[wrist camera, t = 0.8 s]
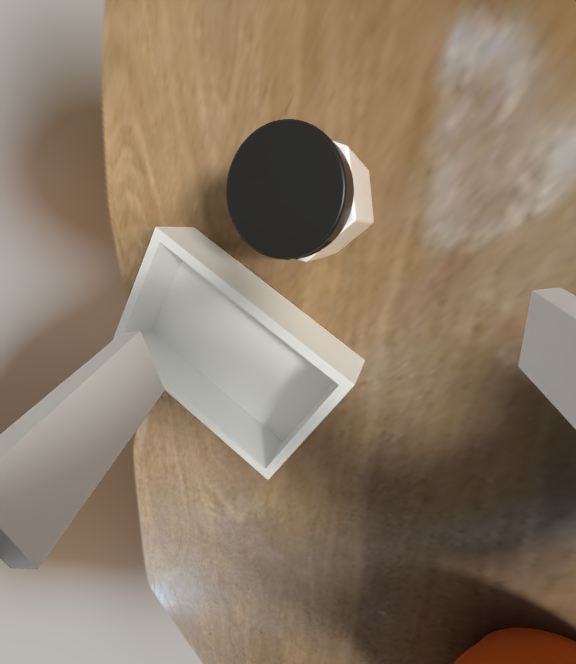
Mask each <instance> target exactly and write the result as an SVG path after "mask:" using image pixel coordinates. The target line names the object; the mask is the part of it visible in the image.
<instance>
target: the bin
mask: <svg viewBox="0 0 576 664" xmlns="http://www.w3.org/2000/svg"><path fill="white" fill-rule="evenodd" d="M133 331H141V334H142V336H143V338H144V341H145V343H146V346H147V348H148V351H149V353H150V355H151V358H152V360H153V363H154V365H155V367H156V370H157V372H158V375H159V377H160V380H161V382H162V384H163V387H164V389H165V390H166V391H167V392H168V393H169V394H170V395H171V396H173V397H174V398H175V399H176V400H177V401H178V402H179V403H181V404H182V405H183V406H184V407H185V408H186V409H187V410H189V411H190V412H191V413H192V414H193V415H194V416H195V417H197V418H198V419H199V420H200V421H201V422H202V423H203V424H205V425H206V426H207V427H208V428H209V429H210V430H211V431H213V432H214V433H215V434H216V435H217V436H218V437H219V438H221V439H222V440H223V441H224V442H225V443H226V444H227V445H229V446H230V447H231V448H232V449H233V450H234V451H235V452H237V453H238V454H239V455H240V456H241V457H242V458H243V459H245V460H246V461H247V462H248V463H249V464H250V465H251V466H253V467H254V468H255V469H256V470H257V471H258V472H259V473H261V474H262V475H263V476H264V477H265V478H266V479H267V480H269V479H270V477H271V476H272V475H273V474H274V473H275V472H276V471H277V470H278V469H279V468H280V466H281V465H282V464H283V463H284V462H285V461H286V460H287V459H288V458H289V457H290V455H291V454H292V453H293V452H294V451H295V450H296V449H297V448H298V447H299V446H300V444H301V443H302V442H303V441H304V440H305V439H306V438H307V437H308V436H309V435H310V433H311V432H312V431H313V430H314V429H315V428H316V427H317V426H318V425H319V424H320V422H321V421H322V420H323V419H324V418H325V417H326V416H327V415H328V414H329V413H330V411H331V410H332V409H333V408H334V407H335V406H336V405H337V404H338V403H339V402H340V400H341V399H342V398H343V397H344V396H345V395H346V394H347V393H348V392H349V391H350V389H351V388H352V387H353V386H354V385H355V383H356V381H357V378H358V376H359V374H360V371H361V369H362V367H363V364H364V362H365V360H364V359H363V358H361V357H360V356H359V355H358V354H356V353H355V352H354V351H352V350H351V349H350V348H349V347H347V346H346V345H345V344H343V343H342V342H341V341H340V340H338V339H337V338H336V337H335V336H333V335H332V334H331V333H329V332H328V331H327V330H326V329H324V328H323V327H322V326H320V325H319V324H318V323H317V322H315V321H314V320H313V319H311V318H310V317H309V316H308V315H306V314H305V313H304V312H302V311H301V310H300V309H299V308H297V307H296V306H295V305H293V304H292V303H291V302H290V301H288V300H287V299H286V298H284V297H283V296H282V295H281V294H279V293H278V292H277V291H275V290H274V289H273V288H272V287H270V286H269V285H268V284H266V283H265V282H264V281H263V280H261V279H260V278H259V277H257V276H256V275H255V274H254V273H252V272H251V271H250V270H248V269H247V268H246V267H245V266H243V265H242V264H241V263H239V262H238V261H237V260H236V259H234V258H233V257H232V256H230V255H229V254H228V253H227V252H225V251H224V250H223V249H221V248H220V247H219V246H218V245H216V244H215V243H214V242H212V241H211V240H210V239H209V238H207V237H206V236H205V235H203V234H202V233H201V232H200V231H198V230H197V229H196V228H194V227H156V228H155V230H154V233H153V235H152V238H151V241H150V243H149V246H148V249H147V251H146V254H145V256H144V259H143V262H142V264H141V267H140V270H139V272H138V275H137V277H136V280H135V283H134V285H133V288H132V291H131V293H130V296H129V298H128V301H127V304H126V306H125V309H124V312H123V314H122V317H121V319H120V322H119V325H118V328H117V330H116V333H115V335H114V338H113V340H114V339H115V338H116V337H117V336H119V335H120V334H121V333H123V332H133ZM113 340H112V341H113Z"/></svg>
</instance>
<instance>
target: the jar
mask: <svg viewBox="0 0 576 664" xmlns="http://www.w3.org/2000/svg"><path fill="white" fill-rule="evenodd" d="M227 204H228V209H229V213H230V216H231V219H232V222H233V224H234V226H235V228H236V230H237V231H238V233H239V234H240V236H241V237H242V238H243V240H244V241H245V242H246V243H247V244H248V245H249V246H250V247H252V248H253V249H254V250H256V251H257V252H259V253H261V254H263V255H265V256H268V257H271V258H276V259H286V260H289V259H299V260H301V261H303V262H308V261H312V260H315V259H319V258H322V257H326V256H330V255H333V254H336V253H337V252H339V251H340V250H341V249H342V248H344V247H345V246H346V245H347V244H348V243H350V242H351V241H352V240H353V239H355V238H356V237H357V236H358V235H360V234H361V233H362V232H363V231H364V230H366V229H367V228H368V227H369V226H371V225H372V224H373V222H374V219H373V209H372V198H371V187H370V176H369V170H368V169H367V168H366V166H365V165H364V164H363V163H362V162H361V161H360V160H359V158H358V157H357V156H356V155H355V154H354V153H353V152H352V150H351V149H350V148H349V147H348V146H347V145H344V144H341V143H338V142H335V141H332V140H331V139H330V138H329V137H328V136H327V135H326V134H325V133H324V132H322V131H321V130H320V129H318V128H317V127H315V126H314V125H312V124H309V123H307V122H304V121H300V120H294V119H283V120H277V121H273V122H270V123H268V124H266V125H264V126H262V127H260V128H259V129H257V130H256V131H254V132H253V133H252V134H251V135H250V136H249V137H248V138H247V139H246V140H245V141H244V142H243V143H242V145H241V146H240V148H239V149H238V151H237V153H236V154H235V157H234V159H233V161H232V164H231V166H230V170H229V174H228V179H227Z"/></svg>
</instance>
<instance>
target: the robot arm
mask: <svg viewBox="0 0 576 664" xmlns="http://www.w3.org/2000/svg"><path fill="white" fill-rule="evenodd" d="M518 367H519V368H520V369H521V370H522V371H523V372H524V373H525V375H526V376H527V377H528V378H529V379H530V380H531V381H532V382H533V383H534V384H535V385H536V387H537V388H538V389H539V390H540V391H541V392H542V393H543V394H544V395H545V396H546V398H547V399H548V400H549V401H550V402H551V403H552V404H553V405H554V406H555V407H556V408H557V410H558V411H559V412H560V413H561V414H562V415H563V416H564V417H565V418H566V419H567V420H568V422H569V423H570V424H571V425H572V426H573V427H574V428H575V429H576V296H575V295H573V294H571V293H570V292H568V291H566V290H564V289H562V288H561V287H560V288H551V289H541V290H532V294H531V299H530V304H529V310H528V315H527V321H526V326H525V331H524V337H523V342H522V348H521V353H520V358H519V364H518ZM164 391H165V389H164V387H163V384H162V382H161V380H160V377H159V375H158V372H157V370H156V367H155V365H154V363H153V360H152V358H151V355H150V353H149V351H148V348H147V346H146V343H145V341H144V338H143V336H142V334H141V331H133V332H123V333H121V334H120V335H119V336H117V337H116V338H115V339H114V340H113V341H111V342H110V343H109V344H108V345H107V346H105V347H104V348H103V349H102V350H101V351H100V352H98V353H97V354H96V355H95V356H94V357H92V358H91V359H90V360H89V361H88V362H86V363H85V364H84V365H83V366H82V367H80V368H79V369H78V370H77V371H76V372H75V373H73V374H72V375H71V376H70V377H68V378H67V379H66V380H65V381H64V382H62V383H61V384H60V385H59V386H58V387H56V388H55V389H54V390H53V391H52V392H51V393H49V394H48V395H47V396H46V397H45V398H43V399H42V400H41V401H40V402H39V403H37V404H36V405H35V406H34V407H33V408H31V409H30V410H29V411H28V412H27V413H25V414H24V415H23V416H22V417H21V418H20V419H18V420H17V421H16V422H15V423H14V424H12V425H11V426H10V427H9V428H8V429H6V430H5V431H4V432H3V433H2V434H0V558H1V559H2V560H3V561H4V563H6V564H7V565H8V567H9V568H22V569H38V568H39V566H40V565H41V564H42V562H43V561H44V559H45V558H46V556H47V555H48V554H49V552H50V551H51V549H52V548H53V547H54V545H55V544H56V543H57V541H58V539H59V538H60V537H61V536H62V534H63V533H64V531H65V530H66V528H67V527H68V526H69V524H70V523H71V521H72V520H73V519H74V517H75V516H76V514H77V513H78V512H79V510H80V509H81V507H82V506H83V504H84V503H85V502H86V500H87V499H88V498H89V496H90V495H91V493H92V492H93V490H94V489H95V488H96V486H97V485H98V483H99V482H100V481H101V479H102V478H103V476H104V475H105V474H106V472H107V471H108V469H109V468H110V466H111V465H112V464H113V462H114V461H115V460H116V458H117V457H118V455H119V454H120V452H121V451H122V450H123V448H124V447H125V445H126V444H127V442H128V441H129V440H130V438H131V437H132V436H133V434H134V433H135V431H136V430H137V429H138V427H139V426H140V424H141V423H142V422H143V420H144V419H145V417H146V416H147V414H148V413H149V412H150V410H151V409H152V407H153V406H154V405H155V403H156V402H157V400H158V399H159V398H160V396H161V395H162V393H163V392H164Z"/></svg>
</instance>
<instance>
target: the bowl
mask: <svg viewBox="0 0 576 664" xmlns="http://www.w3.org/2000/svg"><path fill="white" fill-rule="evenodd" d="M453 664H576V641H574V640H571V639H569V638H566V637H564V636H561V635H558V634H555V633H552V632H548V631H544V630H538V629H532V628H506V629H501V630H497V631H494V632H492V633H490V634H488V635H487V636H485V637H484V638H483V639H482V640H481V641H480V642H478V643H477V644H475V645H474V646H472V647H471V648H469V649H468V650H467V651H465V652H464V653H463V654H462V655H461V656H460V657H459V658H458V659H457V660H456V661H455V662H454V663H453Z"/></svg>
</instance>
